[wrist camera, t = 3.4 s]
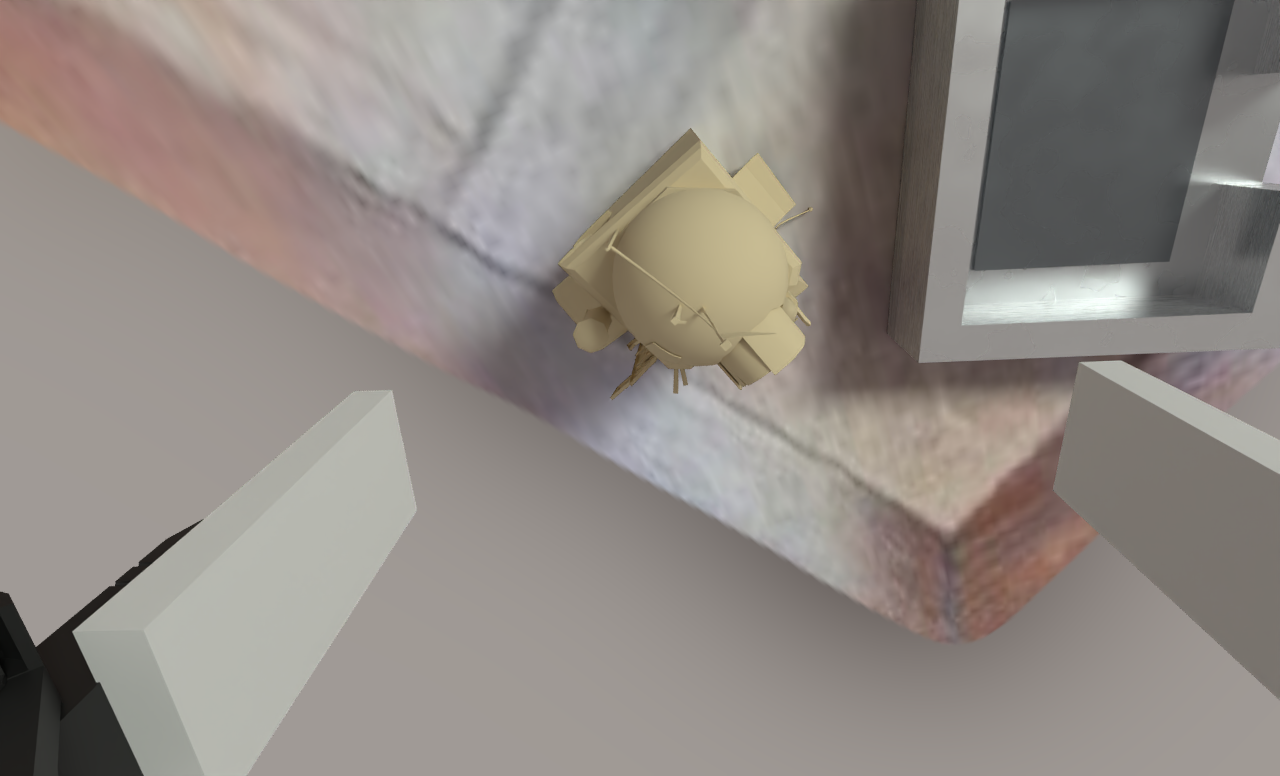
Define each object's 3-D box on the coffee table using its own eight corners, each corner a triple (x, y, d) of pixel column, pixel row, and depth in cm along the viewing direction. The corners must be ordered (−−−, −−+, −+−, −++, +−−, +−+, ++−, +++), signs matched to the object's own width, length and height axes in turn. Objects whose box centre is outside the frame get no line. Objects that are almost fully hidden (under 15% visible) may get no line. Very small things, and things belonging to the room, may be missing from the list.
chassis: (886, 333, 30) (918, 362, 26) (924, -82, 24) (972, -119, 20) (1202, 319, 29) (1280, 348, 26) (1322, -111, 23) (1446, -155, 20)
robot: (663, 391, 32) (666, 603, 18) (542, 268, 29) (436, 399, 16) (839, 242, 29) (1007, 356, 15) (718, 94, 27) (782, 65, 13)
